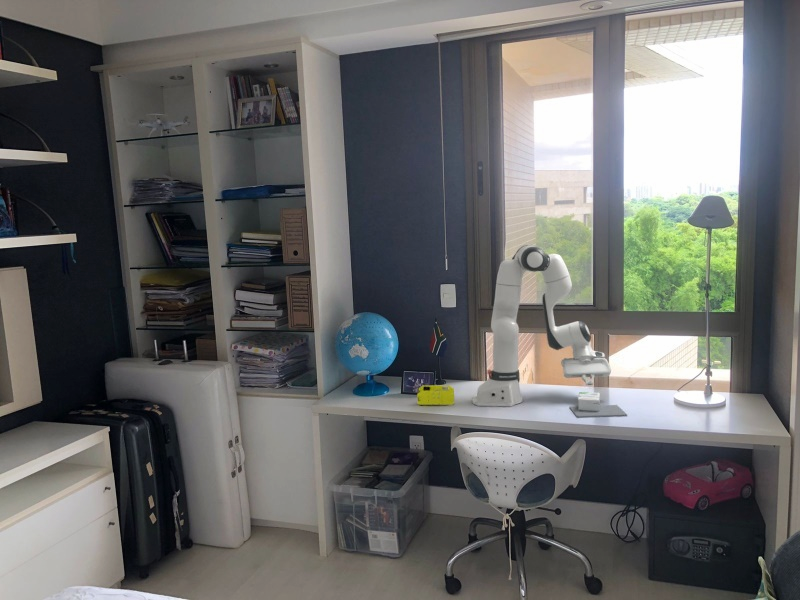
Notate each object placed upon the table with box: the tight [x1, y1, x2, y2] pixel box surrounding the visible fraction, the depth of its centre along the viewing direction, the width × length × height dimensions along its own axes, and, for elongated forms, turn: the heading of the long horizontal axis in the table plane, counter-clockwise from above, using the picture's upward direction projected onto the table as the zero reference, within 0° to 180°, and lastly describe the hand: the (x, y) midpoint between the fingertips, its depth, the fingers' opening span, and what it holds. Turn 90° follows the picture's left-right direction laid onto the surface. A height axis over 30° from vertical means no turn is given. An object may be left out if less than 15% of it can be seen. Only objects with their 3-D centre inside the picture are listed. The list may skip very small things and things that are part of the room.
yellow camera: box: [416, 384, 455, 406], centre depth 289 cm, size 16×6×8 cm, turn 81°
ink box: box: [577, 391, 601, 411], centre depth 272 cm, size 9×5×12 cm
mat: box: [569, 404, 628, 419], centre depth 267 cm, size 20×14×1 cm
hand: (589, 384), depth 278 cm, fingers closed
